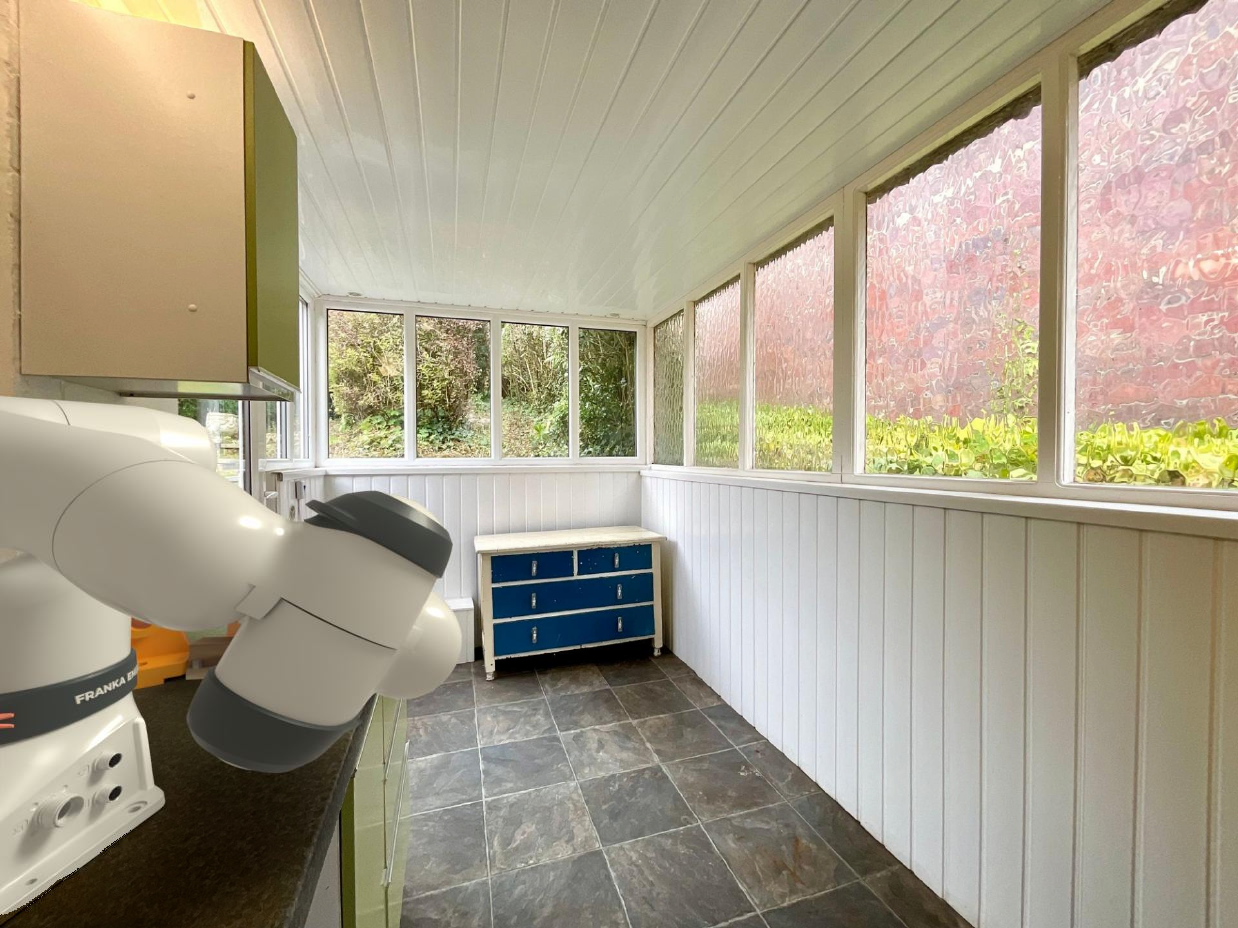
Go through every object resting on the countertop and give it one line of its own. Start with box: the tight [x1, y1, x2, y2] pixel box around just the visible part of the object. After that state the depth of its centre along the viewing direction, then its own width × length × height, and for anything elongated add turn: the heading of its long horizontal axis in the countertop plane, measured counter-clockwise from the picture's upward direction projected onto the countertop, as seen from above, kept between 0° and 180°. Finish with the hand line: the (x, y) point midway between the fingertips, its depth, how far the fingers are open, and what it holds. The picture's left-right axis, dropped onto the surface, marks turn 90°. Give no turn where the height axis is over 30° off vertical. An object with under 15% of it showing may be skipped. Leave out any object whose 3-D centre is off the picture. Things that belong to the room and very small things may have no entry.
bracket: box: [131, 617, 192, 691], centre depth 72 cm, size 11×7×12 cm, turn 126°
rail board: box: [185, 636, 234, 681], centre depth 86 cm, size 27×9×5 cm, turn 9°
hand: (242, 596), depth 80 cm, fingers closed on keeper, 3 cm apart
